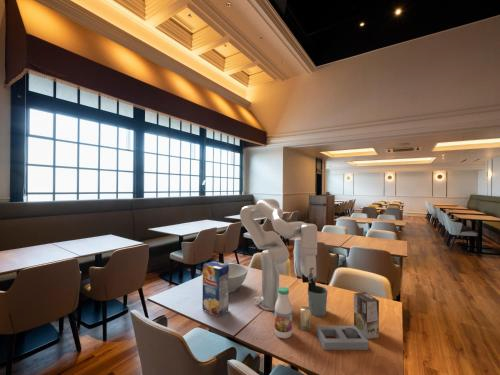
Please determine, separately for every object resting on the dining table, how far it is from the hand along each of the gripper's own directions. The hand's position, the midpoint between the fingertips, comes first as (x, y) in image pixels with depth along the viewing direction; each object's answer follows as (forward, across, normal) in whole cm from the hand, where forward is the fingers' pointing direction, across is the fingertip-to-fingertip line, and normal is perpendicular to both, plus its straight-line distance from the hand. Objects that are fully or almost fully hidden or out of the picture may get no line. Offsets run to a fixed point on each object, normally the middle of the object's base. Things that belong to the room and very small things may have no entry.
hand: (308, 286), depth 108 cm
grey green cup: (+19, -13, +9) cm, 25 cm away
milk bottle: (+19, +5, -13) cm, 24 cm away
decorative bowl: (+19, -42, -40) cm, 62 cm away
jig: (+19, +10, +11) cm, 24 cm away
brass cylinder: (+19, +1, -2) cm, 19 cm away
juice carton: (+19, -16, -45) cm, 52 cm away
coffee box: (+19, +5, +25) cm, 32 cm away
